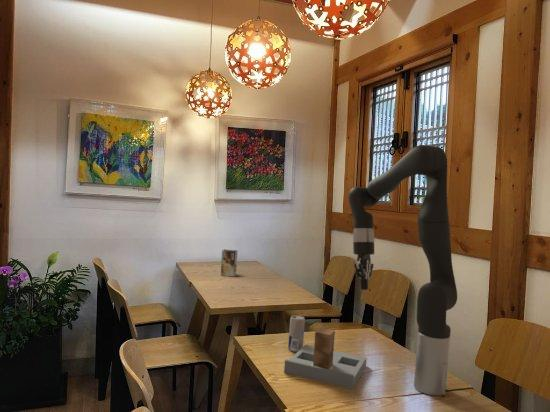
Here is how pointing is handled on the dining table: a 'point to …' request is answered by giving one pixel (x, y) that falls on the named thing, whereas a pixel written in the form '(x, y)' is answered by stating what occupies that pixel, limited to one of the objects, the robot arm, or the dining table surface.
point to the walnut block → (323, 348)
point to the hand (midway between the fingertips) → (364, 289)
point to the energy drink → (296, 333)
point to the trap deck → (339, 374)
